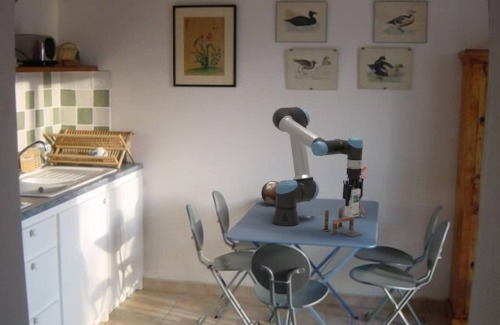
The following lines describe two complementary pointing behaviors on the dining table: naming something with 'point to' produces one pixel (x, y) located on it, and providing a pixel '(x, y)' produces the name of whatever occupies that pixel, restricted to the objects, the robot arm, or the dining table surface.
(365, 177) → the figurine
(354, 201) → the syrup box
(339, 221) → the wooden frame
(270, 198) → the wooden sphere
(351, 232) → the pad
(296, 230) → the dining table surface
